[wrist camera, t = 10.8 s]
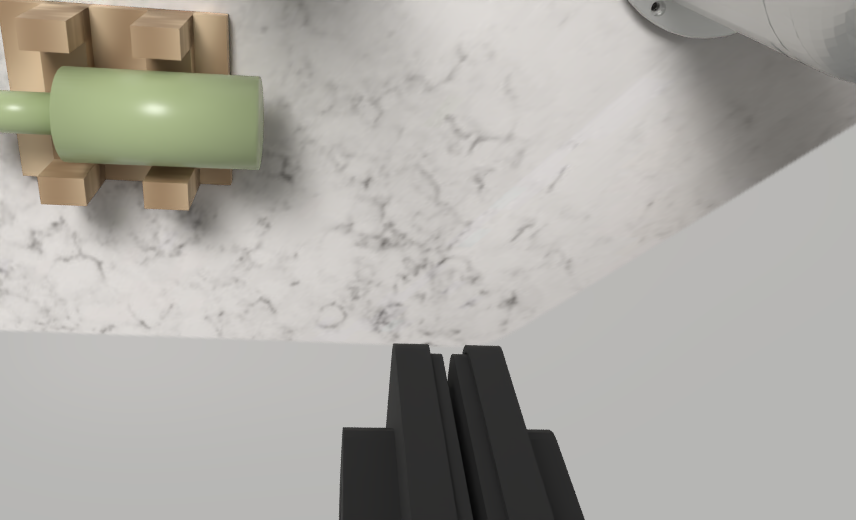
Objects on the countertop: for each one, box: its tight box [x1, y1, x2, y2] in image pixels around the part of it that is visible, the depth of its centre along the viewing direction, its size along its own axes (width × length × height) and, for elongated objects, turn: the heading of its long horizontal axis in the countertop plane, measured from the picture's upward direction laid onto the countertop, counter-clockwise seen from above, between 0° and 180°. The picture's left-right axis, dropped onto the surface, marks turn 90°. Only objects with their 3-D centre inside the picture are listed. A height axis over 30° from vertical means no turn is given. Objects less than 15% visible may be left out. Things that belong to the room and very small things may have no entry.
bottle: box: [0, 66, 264, 170], centre depth 42 cm, size 5×5×16 cm
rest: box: [0, 0, 232, 210], centre depth 44 cm, size 12×10×5 cm
